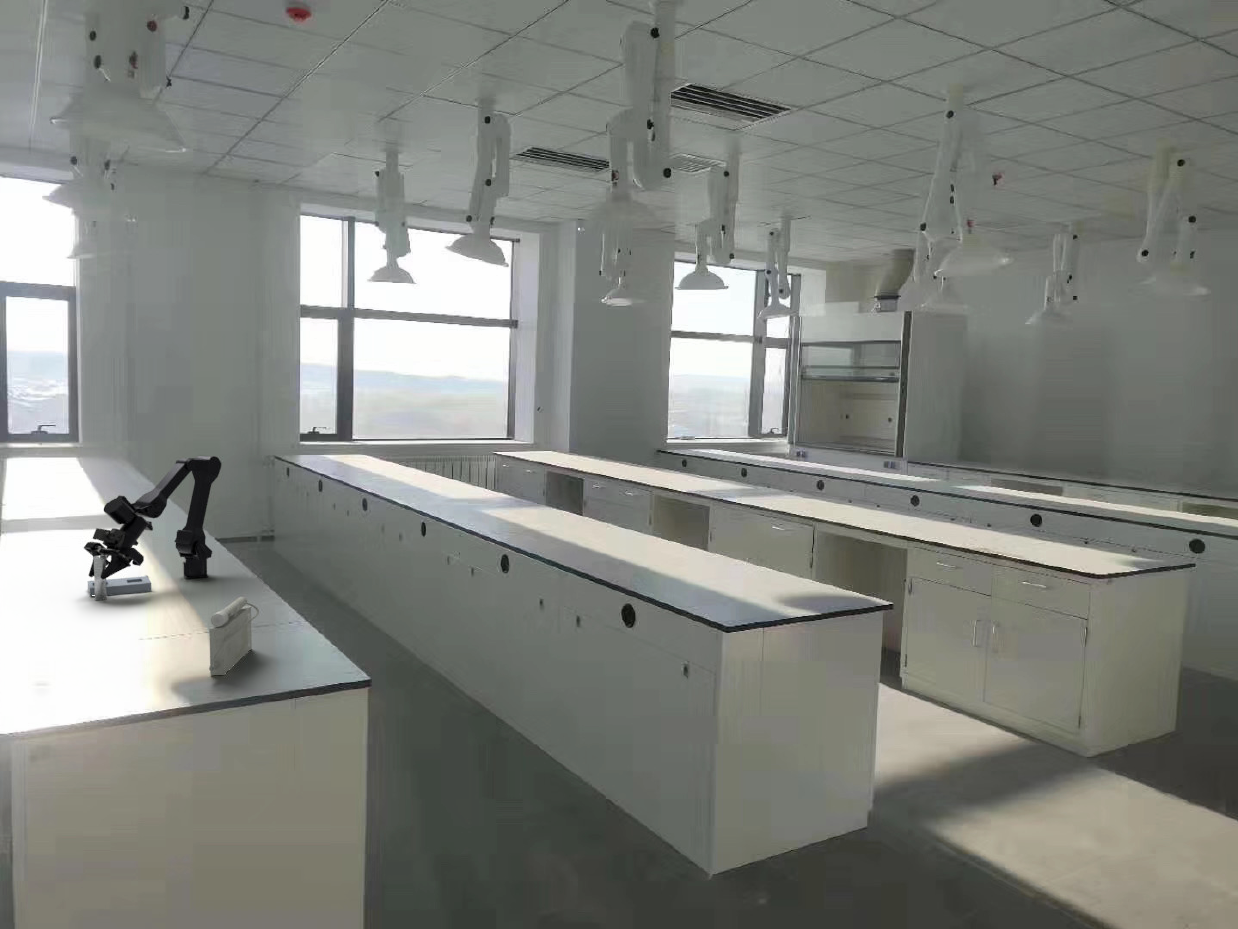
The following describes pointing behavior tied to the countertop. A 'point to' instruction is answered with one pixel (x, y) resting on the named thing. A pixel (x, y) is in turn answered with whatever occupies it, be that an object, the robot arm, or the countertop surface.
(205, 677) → the countertop surface
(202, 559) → the robot arm
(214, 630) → the geiger counter
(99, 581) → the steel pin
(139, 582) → the socket block
